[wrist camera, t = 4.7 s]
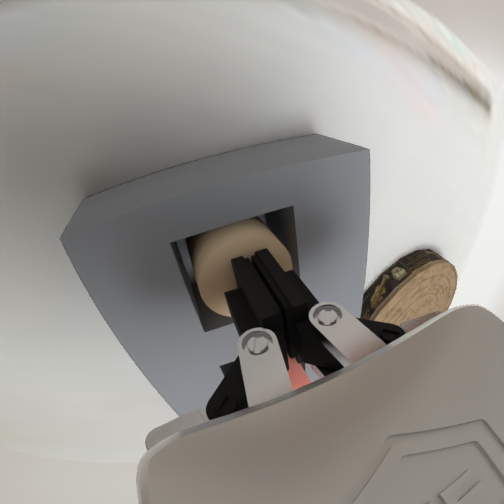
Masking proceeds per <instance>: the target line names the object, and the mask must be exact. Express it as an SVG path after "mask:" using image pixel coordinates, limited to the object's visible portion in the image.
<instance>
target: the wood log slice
mask: <svg viewBox="0 0 504 504" xmlns="http://www.w3.org/2000/svg"><path fill="white" fill-rule="evenodd" d="M456 286H457V272H456V269H455V266H454V265H452V264H451V263H449V262H448V261H447V260H445V259H444V258H443V257H441V256H440V255H438V254H437V253H435V252H433V251H432V250H430V249H426V250H416V251H414V252H412V253H410V254H408V255H406V256H404V257H402V258H400V259H399V260H398V261H396V262H395V263H394V264H393V265H392V266H390V267H389V268H388V269H387V270H385V271H384V272H383V273H382V274H381V275H380V276H379V277H378V278H377V279H376V280H375V281H374V283H373V284H372V285H371V286H370V287H369V288H368V289H367V290H366V292H365V293H364V294H363V302H362V309H361V317H360V318H361V319H366V320H373V321H379V322H385V323H391V324H395V325H398V326H399V325H400V323H401V322H404V321H408V320H411V319H414V318H417V317H420V316H423V315H426V314H429V313H432V312H436V311H439V312H444V311H446V310H448V308H449V306H450V304H451V302H452V299H453V296H454V294H455V290H456Z"/></svg>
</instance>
